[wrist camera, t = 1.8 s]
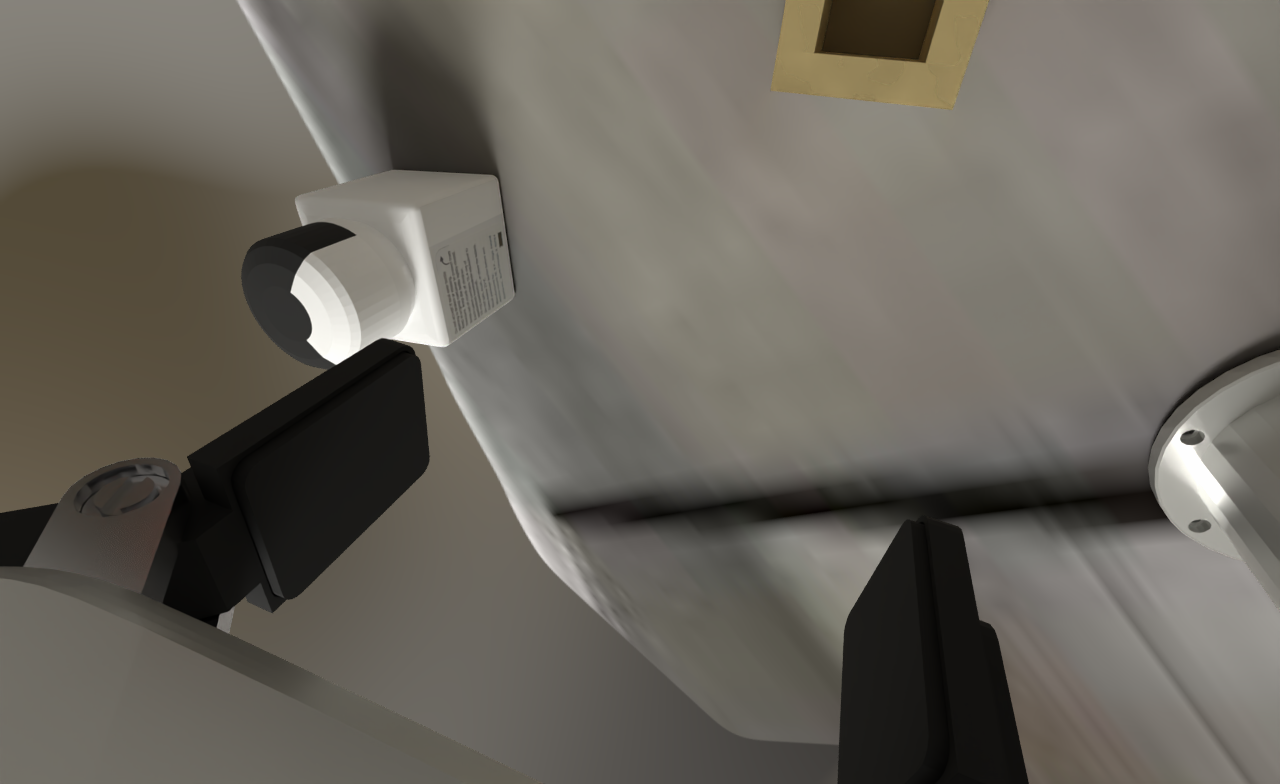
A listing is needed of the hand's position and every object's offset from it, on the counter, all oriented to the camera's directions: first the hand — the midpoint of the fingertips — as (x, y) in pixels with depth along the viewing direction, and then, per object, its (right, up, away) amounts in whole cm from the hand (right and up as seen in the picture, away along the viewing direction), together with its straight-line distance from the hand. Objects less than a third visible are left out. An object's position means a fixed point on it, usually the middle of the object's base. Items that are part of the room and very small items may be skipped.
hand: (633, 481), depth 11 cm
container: (-12, +12, +26) cm, 30 cm away
